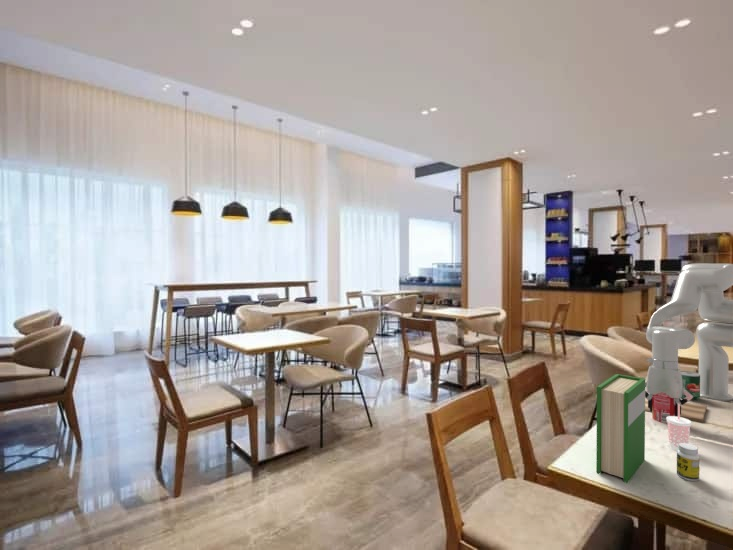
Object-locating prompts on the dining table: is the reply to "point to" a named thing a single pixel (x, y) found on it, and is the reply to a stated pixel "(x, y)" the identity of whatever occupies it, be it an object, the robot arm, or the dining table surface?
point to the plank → (693, 412)
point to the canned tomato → (691, 384)
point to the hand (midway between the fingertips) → (664, 412)
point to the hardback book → (621, 426)
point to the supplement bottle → (688, 462)
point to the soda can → (662, 407)
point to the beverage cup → (678, 430)
